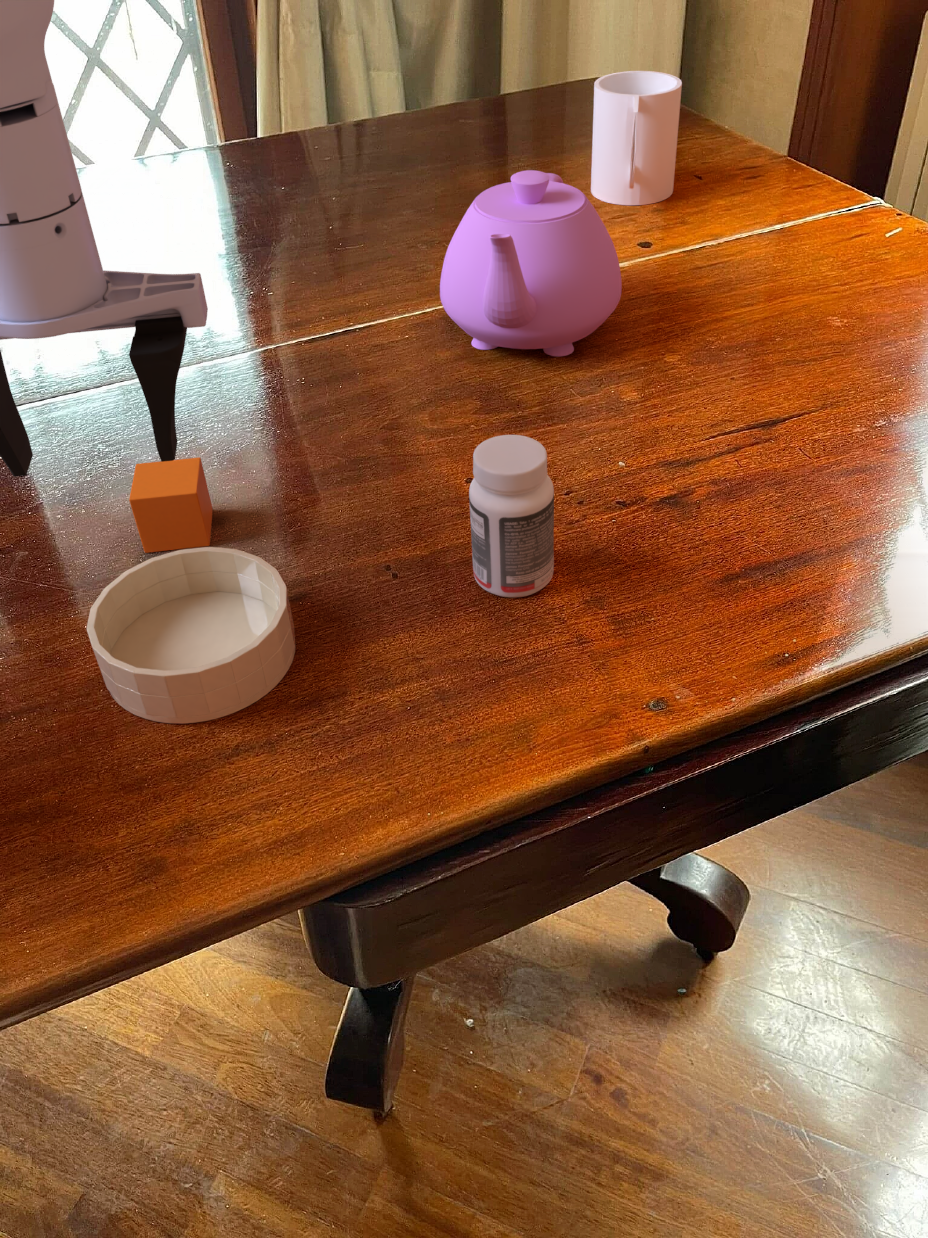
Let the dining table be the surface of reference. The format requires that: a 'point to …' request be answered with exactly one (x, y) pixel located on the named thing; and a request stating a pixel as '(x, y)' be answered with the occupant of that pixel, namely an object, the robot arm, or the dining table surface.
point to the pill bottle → (511, 516)
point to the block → (171, 505)
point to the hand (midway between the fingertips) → (96, 458)
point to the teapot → (530, 267)
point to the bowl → (193, 634)
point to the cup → (635, 137)
